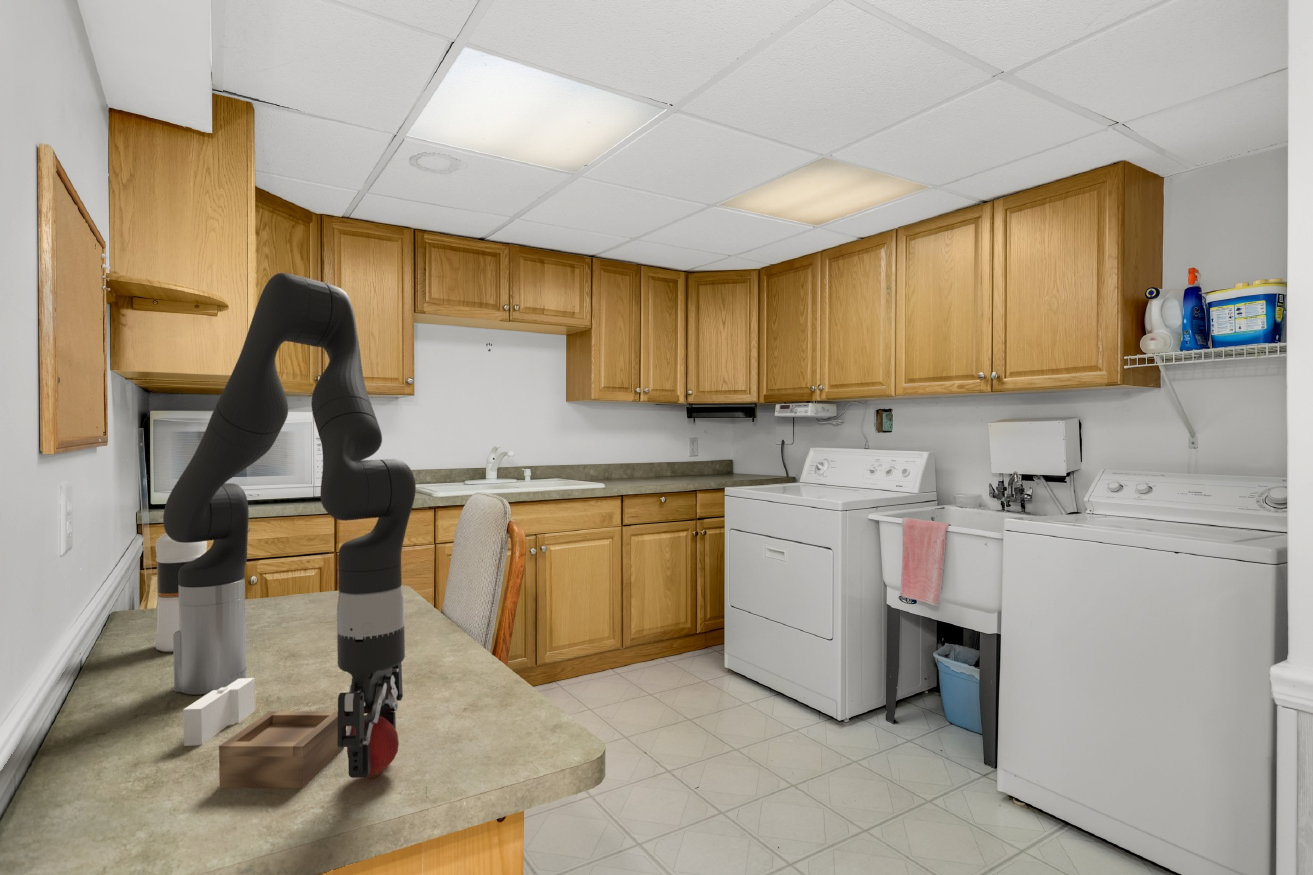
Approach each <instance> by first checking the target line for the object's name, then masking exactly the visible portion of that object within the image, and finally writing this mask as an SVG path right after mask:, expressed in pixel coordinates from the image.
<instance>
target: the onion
mask: <svg viewBox="0 0 1313 875" xmlns="http://www.w3.org/2000/svg"><path fill="white" fill-rule="evenodd" d="M369 714H370V713H368V714H366V715H369ZM364 728H365V724H364ZM354 734H355V731H354ZM398 735H399V734H398V732H397V728H396V729H395V727H394V726H393V725H392V724H391V723H390V722H389V721H388V720H386V719H385V718H383V717H381V716H379V718H378V722H377V723H376V724H375V725H373V727H372V731H371V736H370V741H369V743H370V773H369V774H368V775H367V777H368V778H376V777H378V776H379V775H380V774H381V773H382V772H383V771H384V770H385V769H386V768H388V767H389V766H390V764H392V762H393V761H394V759H395V758H396V756H397V754H398V751H399V745H400V744H399V736H398ZM346 754H347V756H348V747H346Z"/></svg>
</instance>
